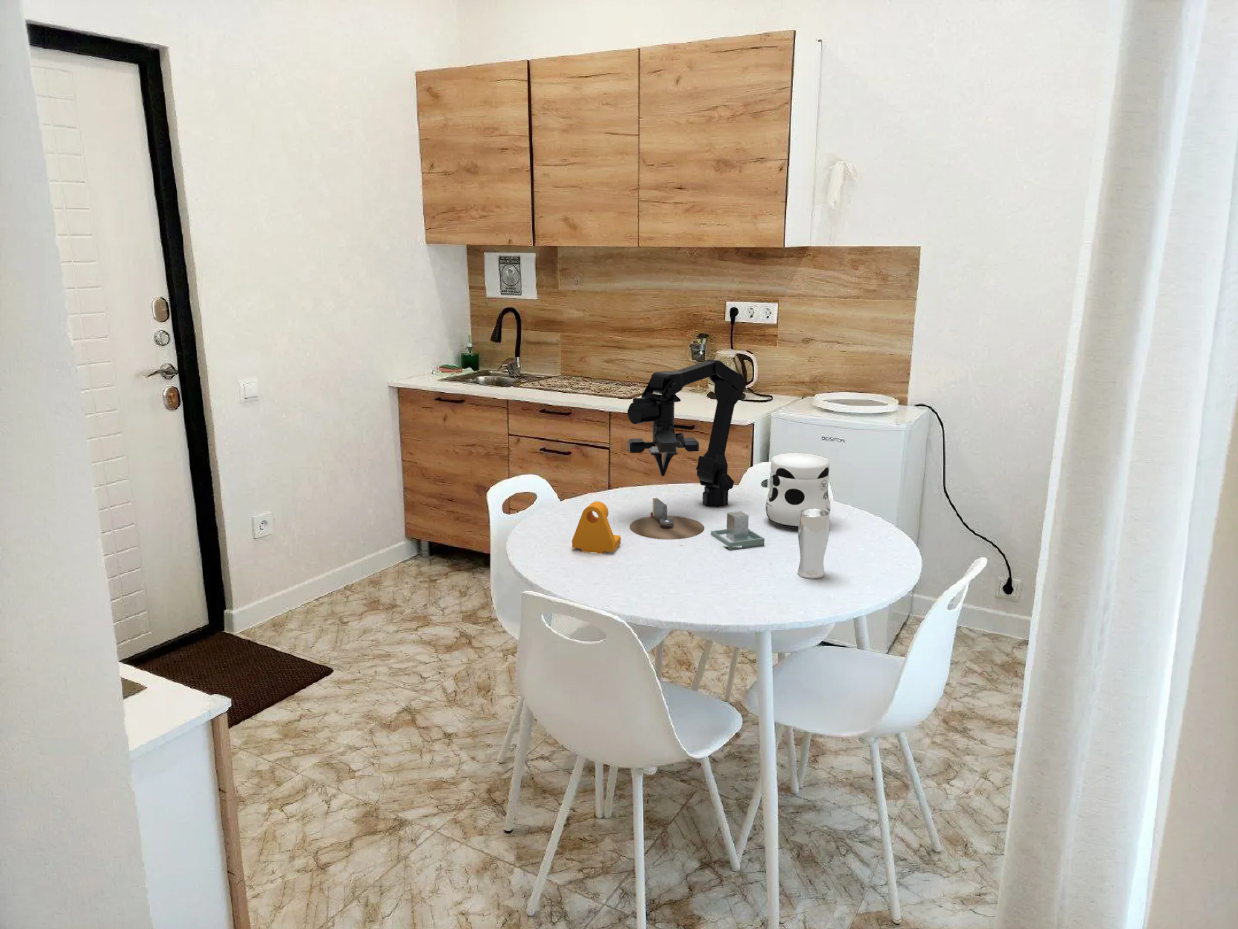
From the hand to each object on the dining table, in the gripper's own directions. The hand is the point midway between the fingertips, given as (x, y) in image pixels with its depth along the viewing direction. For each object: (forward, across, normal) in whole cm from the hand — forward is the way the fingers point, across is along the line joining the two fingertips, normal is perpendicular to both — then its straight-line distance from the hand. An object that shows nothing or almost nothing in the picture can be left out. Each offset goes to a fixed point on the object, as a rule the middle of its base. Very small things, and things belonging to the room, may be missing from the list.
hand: (662, 475), depth 237 cm
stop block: (+12, +16, -19) cm, 28 cm away
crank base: (+13, 0, -8) cm, 15 cm away
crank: (+12, -1, -4) cm, 12 cm away
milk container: (+13, +37, -5) cm, 39 cm away
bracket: (+13, -20, -19) cm, 31 cm away
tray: (+13, +16, -19) cm, 28 cm away
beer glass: (+13, +28, -43) cm, 53 cm away
